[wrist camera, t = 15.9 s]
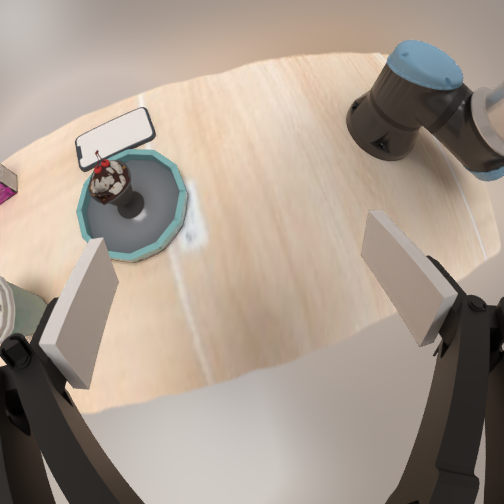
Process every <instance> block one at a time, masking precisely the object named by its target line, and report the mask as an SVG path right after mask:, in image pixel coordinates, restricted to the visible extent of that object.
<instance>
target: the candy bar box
mask: <svg viewBox="0 0 504 504" xmlns="http://www.w3.org/2000/svg"><path fill="white" fill-rule="evenodd" d="M16 193H17V175H15V174H14V173H12V172H11V171H10V170H8V169H7V168H6V167H4V166H3V165H2V164H0V204H1V203H3V202H4V201H6V200H7V199H9V198H10V197H11V196H13V195H14V194H16Z"/></svg>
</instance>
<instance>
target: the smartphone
mask: <svg viewBox="0 0 504 504" xmlns="http://www.w3.org/2000/svg"><path fill="white" fill-rule="evenodd" d="M155 136H156V133H155V130H154V128H153V125H152V122H151V119H150V116H149V114H148V111H147V109H146V108H144V107H140V108H138V109H135V110H133V111H131V112H128V113H126V114H124V115H122V116H119V117H117V118H115V119H113V120H111V121H109V122H106V123H104V124H102V125H100V126H98V127H96V128H94V129H92V130H90V131H88V132H86V133H84V134H82V135H80V136H79V137H78V138H77V139H76V141H75V145H76V151H77V157H78V163H79V167H80V169H81V170H82V171H84V172H87V171H89V170H91V169H93V168H95V167H96V166H98V159H99V165H100V164H101V162H102V160H101V159H100V157H101V158H102V159H103V160H105V159H108V158H110V157H112V156H114V155H117V154H119V153H121V152H123V151H125V150H127V149H134V148H136V147H138V146H141V145H143V144H145V143H147V142H150V141H152V140H153V139H154V138H155ZM97 150H98V151H99V152H98V154H99V156H100V157H99V156H98V154H97V156H98V158H97V156H96V155H95V152H96V151H97Z"/></svg>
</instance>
